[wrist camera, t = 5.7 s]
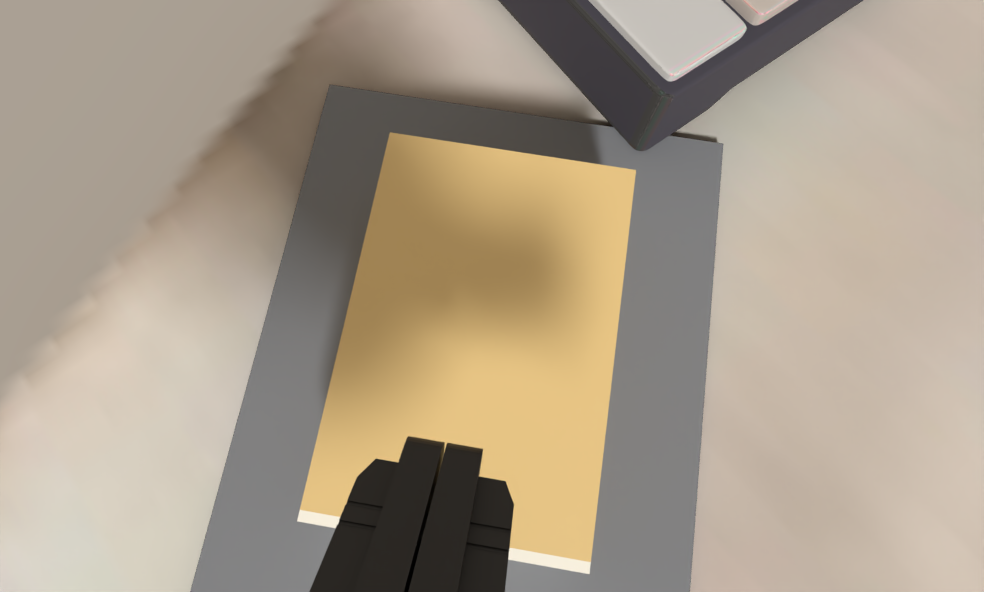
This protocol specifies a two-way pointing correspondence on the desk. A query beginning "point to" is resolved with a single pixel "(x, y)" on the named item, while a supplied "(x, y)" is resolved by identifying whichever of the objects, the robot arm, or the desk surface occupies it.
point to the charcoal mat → (636, 372)
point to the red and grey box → (666, 51)
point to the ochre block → (484, 333)
